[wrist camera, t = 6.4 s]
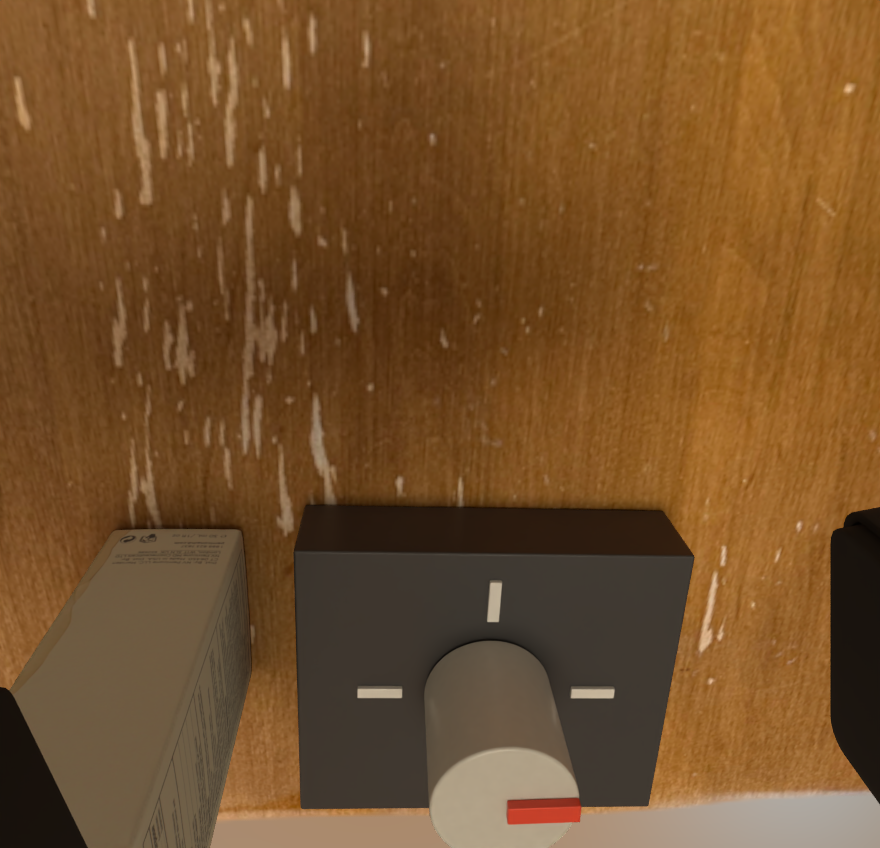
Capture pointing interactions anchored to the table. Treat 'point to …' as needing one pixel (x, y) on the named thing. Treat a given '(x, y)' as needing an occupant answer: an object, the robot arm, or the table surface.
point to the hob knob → (496, 751)
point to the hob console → (481, 637)
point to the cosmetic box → (145, 687)
